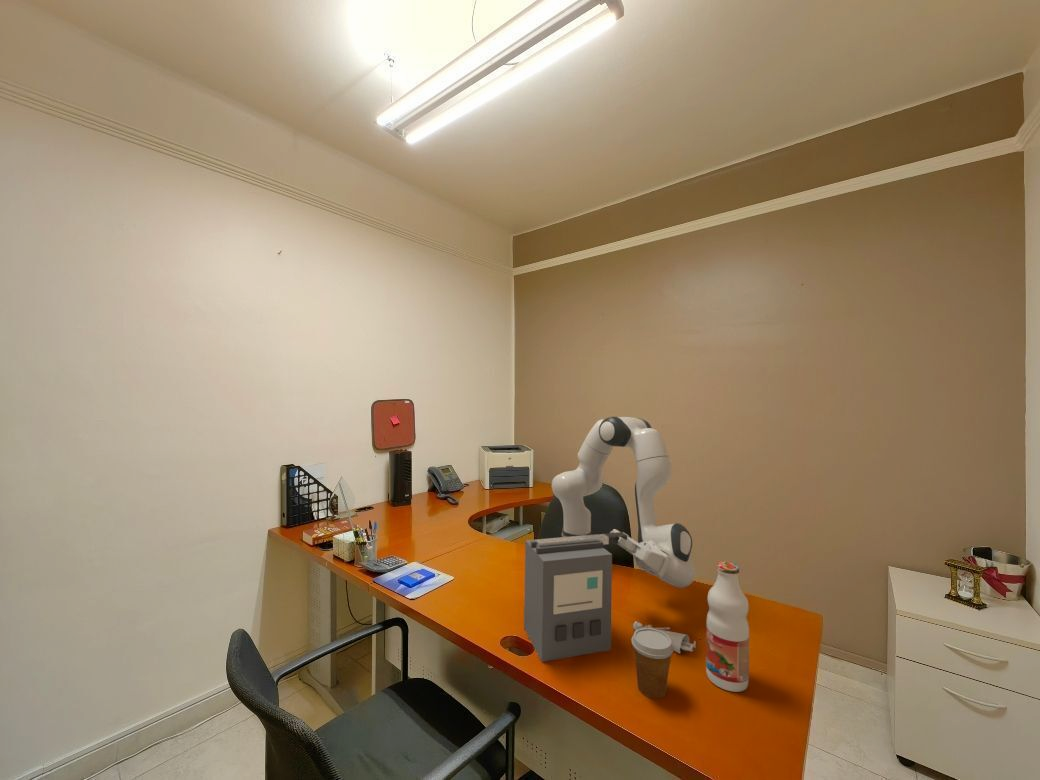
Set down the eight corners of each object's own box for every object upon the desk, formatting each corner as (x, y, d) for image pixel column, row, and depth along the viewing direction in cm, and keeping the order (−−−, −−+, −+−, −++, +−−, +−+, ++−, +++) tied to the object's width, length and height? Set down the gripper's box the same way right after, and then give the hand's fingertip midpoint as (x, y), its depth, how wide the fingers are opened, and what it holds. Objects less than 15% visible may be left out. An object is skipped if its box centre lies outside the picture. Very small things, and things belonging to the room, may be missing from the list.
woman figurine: (684, 648, 106) (623, 624, 119) (685, 666, 106) (624, 640, 119) (702, 630, 115) (642, 610, 127) (703, 647, 114) (643, 625, 127)
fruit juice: (757, 693, 96) (758, 573, 97) (717, 693, 96) (718, 573, 97) (735, 667, 106) (736, 558, 106) (699, 666, 106) (700, 557, 106)
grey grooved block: (523, 628, 122) (525, 535, 122) (585, 619, 127) (586, 530, 128) (543, 664, 106) (544, 557, 106) (612, 652, 111) (613, 550, 112)
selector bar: (535, 546, 116) (535, 539, 116) (623, 538, 124) (623, 531, 124) (539, 550, 113) (539, 543, 113) (628, 542, 121) (628, 535, 121)
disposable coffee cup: (671, 679, 101) (671, 630, 101) (674, 708, 91) (675, 653, 92) (631, 672, 103) (631, 624, 103) (630, 698, 94) (631, 646, 94)
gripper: (635, 535, 135) (602, 517, 132) (675, 559, 116) (638, 538, 112) (626, 553, 134) (593, 534, 131) (665, 580, 115) (627, 559, 111)
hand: (614, 536), depth 122 cm, fingers closed on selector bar, 3 cm apart
